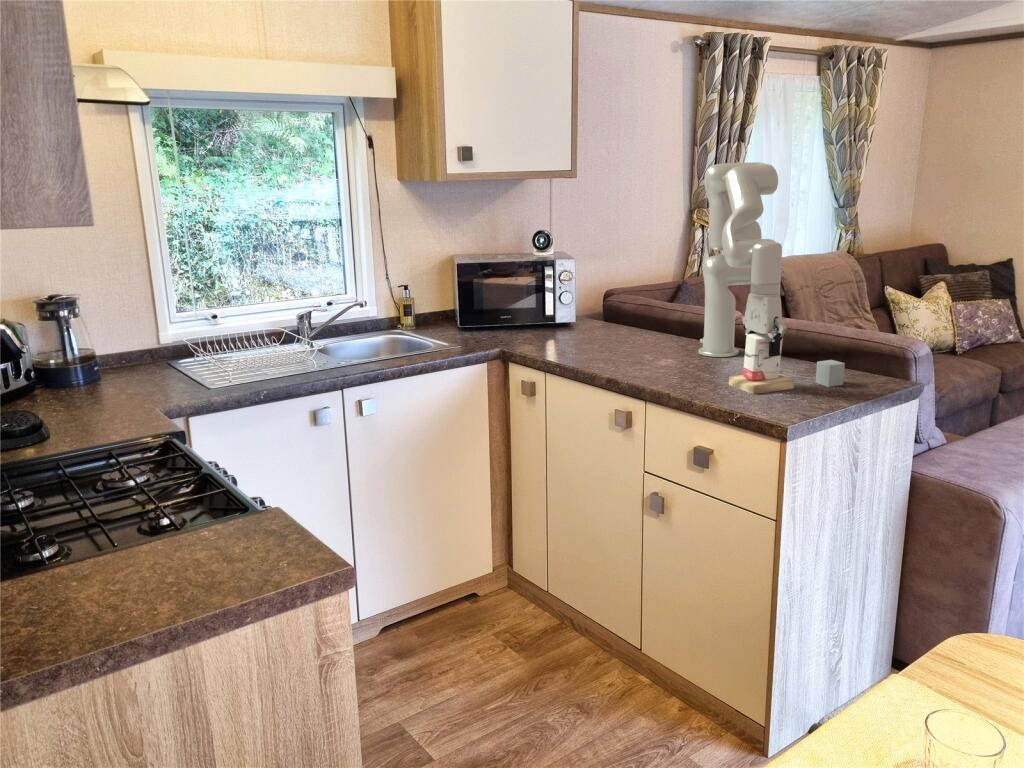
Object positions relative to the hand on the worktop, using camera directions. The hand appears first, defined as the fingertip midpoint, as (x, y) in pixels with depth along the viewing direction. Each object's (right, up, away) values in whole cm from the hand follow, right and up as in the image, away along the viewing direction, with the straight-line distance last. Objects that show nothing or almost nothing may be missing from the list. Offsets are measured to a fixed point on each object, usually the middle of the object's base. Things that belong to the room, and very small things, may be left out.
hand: (762, 352), depth 216 cm
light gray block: (+19, -8, +3) cm, 21 cm away
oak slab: (0, -10, +3) cm, 10 cm away
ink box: (0, -7, +2) cm, 7 cm away
